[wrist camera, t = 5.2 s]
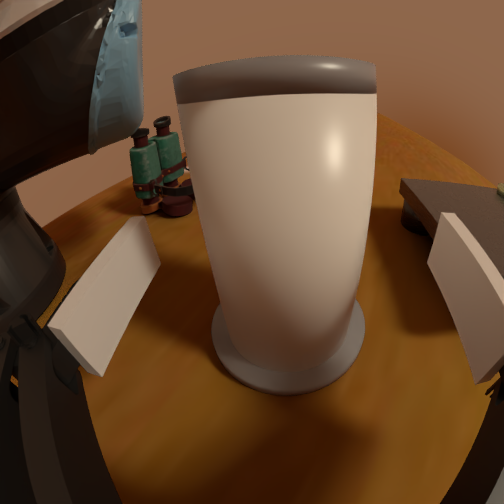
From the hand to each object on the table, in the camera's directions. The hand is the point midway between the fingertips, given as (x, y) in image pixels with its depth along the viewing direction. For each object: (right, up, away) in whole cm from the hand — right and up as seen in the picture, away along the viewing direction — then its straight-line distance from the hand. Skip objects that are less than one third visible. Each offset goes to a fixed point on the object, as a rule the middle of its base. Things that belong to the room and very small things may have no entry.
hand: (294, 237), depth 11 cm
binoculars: (-10, +5, +21) cm, 24 cm away
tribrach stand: (+20, -1, +6) cm, 21 cm away
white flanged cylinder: (0, -5, +5) cm, 7 cm away
